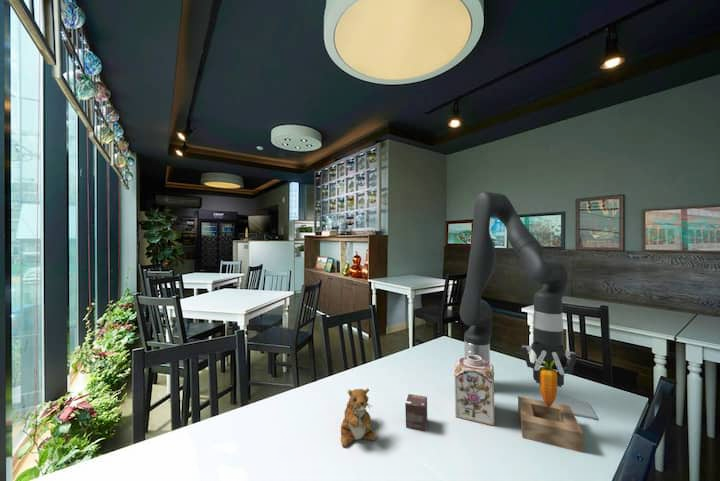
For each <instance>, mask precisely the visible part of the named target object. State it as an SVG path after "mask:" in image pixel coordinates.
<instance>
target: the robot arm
mask: <svg viewBox="0 0 720 481" xmlns="http://www.w3.org/2000/svg"><path fill="white" fill-rule="evenodd" d="M492 218H494V219H495V218H496V219H497V220H499V221H500V222H501V223H502V224H503V226H504V227H505V230H506V237H507V240H508V243H509V244H510V246H511V247H512V248H513V250H514V251H515V252H516V254H517V255H518V257H519V258H520V260H521V263H522V265H523V267H524V270H525V272H526V274H527V276H528V277H529V278H530V280H532V281H533V282H535V283H537V284H541V285H542V284H543V286H542V288H541V289H540V290H538V291H536V292H535V293H534V296H533V309H534V310H533V315H532V340H533V341H532V343H531V345H526V344H522V345H521V349H522V353H523V356H524V360H525V363H526V366H527V368H531V369H532V377H533V380H534V381H535V383H537V384H539V368H540V367H541V365H543V363H542V362H543V361H548V362H549V361H550V362H552V361H553V360H554V361H555V363H554V365H555V367H556V369H557V377H558V378H557V388H562V386H564V385H565V375H566V374H568V375H572V373H573V370H574V367H575V364H576V361H577V354H576V353H575V352H574V351H569V350H566V349H565V345H564V318H563V296H564V294H565V292H566V286H567V283H568V280H569V278H568V277H569V272H568V271H569V270H568V268H567V266H566V265H565V263H564V262H563V261H561V260H560V259H559V260H558V259H543V258H542V255H544V251H545V250H544V247H543V245H542V244H541V243H540V242H539V241H538V239H537V238H536V237H535V236H534V235H533V233H531V231H530V230H529V229H528V228H527V227H526V225H525V224H524V223H523V220H521V218H520V216H519V214H518V213H517V210H515V207H514V206H513V204H512V202H511V200H510V199H509V198H508V196H507V195H505V194H503V193H501V192H491V191H482V192H479V194H478V195H477V196H476V198H475V201H474V203H473V220H472V221H473V223H472V225H473V226H472V236H471V246H470V251H469V258H468V265H467V274H466V279H465V286H464V291H463V295H462V298H461V302H460V306H459V317H460V319H461V321H462V322H463V323H464V325H466V326H469V327H468V329H467V330H466V331H465V332H464V335H463V338H464V341H463V342H464V343H463V344H464V358H465V357H467V356H468V355H477V356H480V357H481V358H482V359H483V360H485V361H487V362H489V363H491V353H490V352H491V350H490V349H491V344H490V341H491V337H492V334H493V333H492V332H493V311H492V307H491V305H490V304H489V303H488V302H487V301H485V300H484V299H482V295H483V291H484V289H485V288H486V286H487V284H488V283H489V281H490V279H491V277H492V275H493V273H494V271H495V265H496V258H497V251H496V250H497V249H496V246H495V244H494V242H493V239H492V236H491V233H490V224H491V223H490V222H491V219H492ZM531 351H533V352H534V354H535V355H536V356H535V358H534V361H532V362H531V360H530V359H531V358H530V354H531ZM564 355H565V357H566V364H565V366H564V367H563V366H562V364H561V361H560V360H561V359H562V358H563V357H564Z"/></svg>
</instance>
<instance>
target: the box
mask: <svg viewBox="0 0 720 481" xmlns="http://www.w3.org/2000/svg"><path fill="white" fill-rule="evenodd" d="M404 406H405V410H404V411H405V427H406V428H409V429H414V430H419V431H420V430H421V431H424V432H425V431H427V424H428V396H423V395H418V394H411V393H408V395H407V398H406V401H405V405H404Z"/></svg>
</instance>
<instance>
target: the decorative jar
mask: <svg viewBox="0 0 720 481" xmlns="http://www.w3.org/2000/svg"><path fill="white" fill-rule="evenodd" d="M454 368H455V369H454V375H453V376H454V416H455V418H459V419H464V420H468V421H472V422H476V423H480V424H485V425H488V426H489V425H490V426H495V393H496V392H495V388H494V387H495V385H494V384H495V383H494V382H495V379H494V378H495V373H494V372H495V371H494V364H493V363H491V362H490V363H489V362H487V361H485V360H483V359H482V358H481V357H480V356H477V355H468V356H467V357H465V356H464V357H460V358H457V359H456V362H455V367H454Z"/></svg>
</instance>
